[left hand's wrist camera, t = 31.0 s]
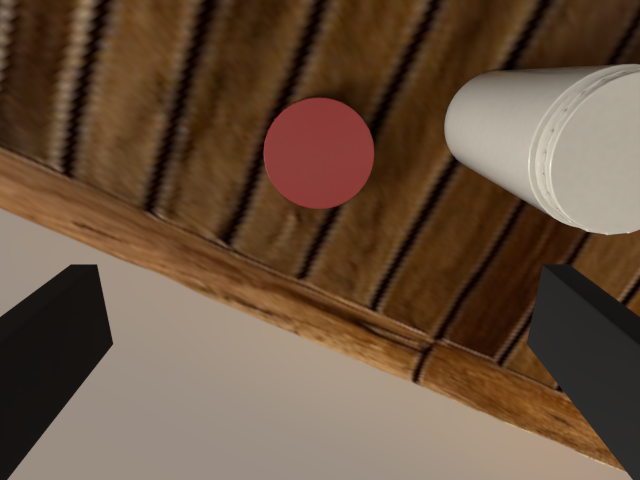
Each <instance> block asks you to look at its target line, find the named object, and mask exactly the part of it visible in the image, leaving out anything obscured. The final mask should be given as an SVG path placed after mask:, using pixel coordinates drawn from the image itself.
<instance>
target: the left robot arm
mask: <svg viewBox="0 0 640 480" xmlns="http://www.w3.org/2000/svg"><path fill="white" fill-rule="evenodd" d="M112 345H113V341H112V336H111V331H110V326H109V321H108V316H107V311H106V306H105V302H104V297H103V292H102V287H101V282H100V277H99V272H98V267H97V265H70V266H68V267H67V268H66V269H64V270H63V271H62V272H60V273H59V274H58V275H56V276H55V277H54V278H52V279H51V280H50V281H48V282H47V283H45V284H44V285H43V286H41V287H40V288H39V289H37V290H36V291H35V292H33V293H32V294H31V295H29V296H28V297H27V298H25V299H24V300H23V301H21V302H20V303H19V304H17V305H16V306H15V307H13V308H12V309H11V310H9V311H8V312H7V313H5V314H4V315H2V316H1V317H0V480H7V479H8V478H9V477H10V475H11V474H12V473H13V472H14V470H15V469H16V468H17V466H18V465H19V464H20V463H21V461H22V460H23V459H24V457H25V456H26V455H27V454H28V452H29V451H30V450H31V448H32V447H33V446H34V445H35V443H36V442H37V441H38V439H39V438H40V437H41V436H42V434H43V433H44V432H45V431H46V429H47V428H48V427H49V425H50V424H51V423H52V422H53V420H54V419H55V418H56V417H57V415H58V414H59V413H60V411H61V410H62V409H63V408H64V406H65V405H66V404H67V402H68V401H69V400H70V399H71V397H72V396H73V395H74V393H75V392H76V391H77V390H78V388H79V387H80V386H81V385H82V383H83V382H84V381H85V379H86V378H87V377H88V376H89V374H90V373H91V372H92V370H93V369H94V368H95V367H96V365H97V364H98V363H99V361H100V360H101V359H102V358H103V356H104V355H105V354H106V353H107V351H108V350H109V349H110V347H111V346H112ZM527 345H528V346H529V347H530V349H531V350H532V351H533V353H534V354H535V355H536V356H537V358H538V359H539V360H540V361H541V363H542V364H543V365H544V367H545V368H546V369H547V370H548V372H549V373H550V374H551V376H552V377H553V378H554V379H555V381H556V382H557V383H558V385H559V386H560V387H561V388H562V390H563V391H564V392H565V393H566V395H567V396H568V397H569V399H570V400H571V401H572V402H573V404H574V405H575V406H576V408H577V409H578V410H579V411H580V413H581V414H582V415H583V417H584V418H585V419H586V420H587V422H588V423H589V424H590V425H591V427H592V428H593V429H594V431H595V432H596V433H597V434H598V436H599V437H600V438H601V440H602V441H603V442H604V443H605V445H606V446H607V447H608V448H609V450H610V451H611V452H612V454H613V455H614V456H615V457H616V459H617V460H618V461H619V463H620V464H621V465H622V466H623V468H624V469H625V470H626V472H627V473H628V474H629V475H630V477H631V478H632V479H633V480H640V317H639V316H638V315H636V314H635V313H634V312H632V311H631V310H630V309H628V308H627V307H625V306H624V305H623V304H621V303H620V302H619V301H617V300H616V299H615V298H613V297H612V296H611V295H609V294H608V293H607V292H605V291H604V290H603V289H601V288H600V287H599V286H597V285H596V284H595V283H593V282H592V281H591V280H589V279H588V278H586V277H585V276H584V275H582V274H581V273H580V272H578V271H577V270H576V269H574V268H573V267H572V266H570V265H543V267H542V272H541V277H540V282H539V287H538V292H537V297H536V301H535V306H534V311H533V316H532V321H531V326H530V331H529V336H528V341H527Z"/></svg>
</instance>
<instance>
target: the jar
mask: <svg viewBox="0 0 640 480" xmlns="http://www.w3.org/2000/svg"><path fill="white" fill-rule="evenodd" d="M444 129H445V138H446V142H447V145H448V147H449V149H450V151H451V152H452V154H453V155H454V157H455V158H456V159H457V160H458V161H460V162H461V163H462V164H464V165H465V166H467V167H469V168H470V169H472V170H474V171H476V172H477V173H479V174H481V175H482V176H484V177H486V178H487V179H489V180H491V181H492V182H494V183H496V184H497V185H499V186H501V187H503V188H504V189H506V190H508V191H509V192H511V193H513V194H514V195H516V196H518V197H519V198H521V199H523V200H524V201H526V202H528V203H530V204H531V205H533V206H535V207H536V208H538V209H540V210H541V211H543V212H545V213H546V214H548V215H550V216H551V217H553V218H555V219H557V220H558V221H560V222H562V223H565V224H567V225H570V226H574V227H578V228H581V229H583V230H586V231H587V232H594V233H601V234H606V235H611V234H619V233H631V232H634V231H636V230H639V229H640V64H620V65H600V66H579V67H559V68H539V69H519V70H499V71H491V72H487V73H483V74H481V75H479V76H477V77H475V78H473V79H472V80H470V81H469V82H467V83H466V84H465V85H464V86H463V87H462V88H461V89H460V90H459V91H458V92H457V94H456V95H455V96H454V98H453V99H452V101H451V103H450V105H449V107H448V110H447V113H446V118H445V126H444Z"/></svg>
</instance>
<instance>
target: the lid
mask: <svg viewBox="0 0 640 480" xmlns="http://www.w3.org/2000/svg"><path fill="white" fill-rule="evenodd" d="M264 143H265V145H264V161H265V167H266V170H267V173H268V175H269V177H270V180H271V181H272V183H273V184H274V186H275V187H276V188H277V190H278V191H279V192H280V193H281V194H282V195H283V196H285V197H286V198H287V199H289V200H290V201H292V202H294V203H296V204H298V205H301V206H304V207H308V208H314V209H324V208H331V207H335V206H338V205H340V204H343V203H344V202H346V201H348V200H350V199H351V198H352V197H354V196H355V195H356V194H357V193H358V192H359V191H360V190H361V189H362V187H363V186H364V185H365V183H366V182H367V180H368V178H369V176H370V174H371V170H372V168H373V162H374V155H375V154H374V144H373V143H374V142H373V139H372V136H371V133H370V129H369V128H368V127H367V125H366V123H365V122H364V119H363V118H362V117H360V115H359V114H358V113H357V112H356V111H355V109H354V108H353V109H352V108H351V107H350V106H348V105H346V104H345V103H344V102H341V101H338V100H336V99H332V97H331V98H327V97H319V96H318V97H311V98H307V97H306V98H305V99H303V100H300V101H298V102H294V103H293V104H292V105H290V106H289V107H287V108H286V109H283V112H281V113H280V115H279V116H278V117H277V118H275V119H274V122H273V123H272V125H271V127H270V129H269V130H268V134H267V136H266V140H265V142H264Z"/></svg>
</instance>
